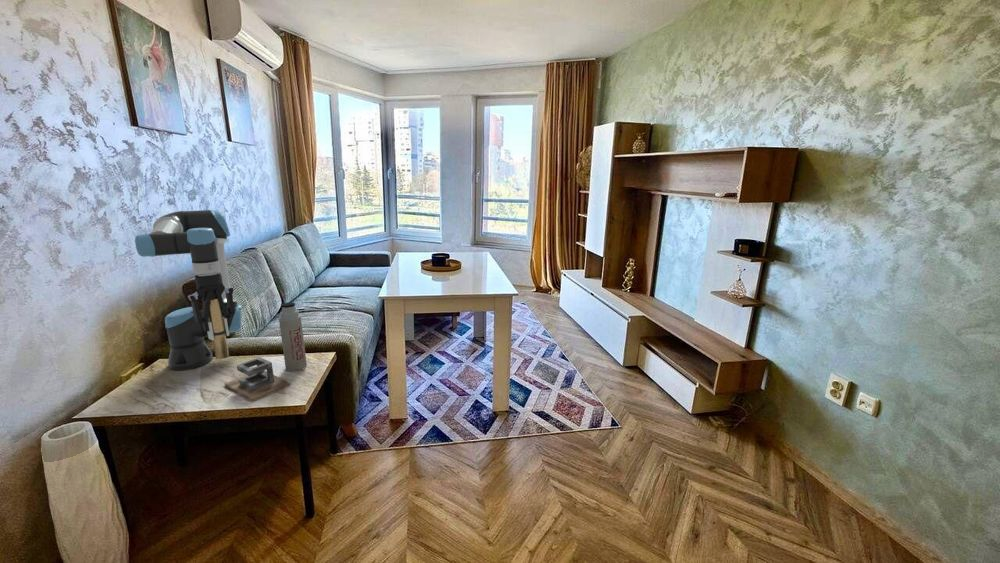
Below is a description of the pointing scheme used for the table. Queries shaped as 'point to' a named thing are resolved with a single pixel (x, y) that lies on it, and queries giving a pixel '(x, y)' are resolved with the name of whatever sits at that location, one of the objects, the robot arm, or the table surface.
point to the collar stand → (256, 380)
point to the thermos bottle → (292, 337)
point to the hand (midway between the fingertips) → (219, 336)
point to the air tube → (218, 329)
